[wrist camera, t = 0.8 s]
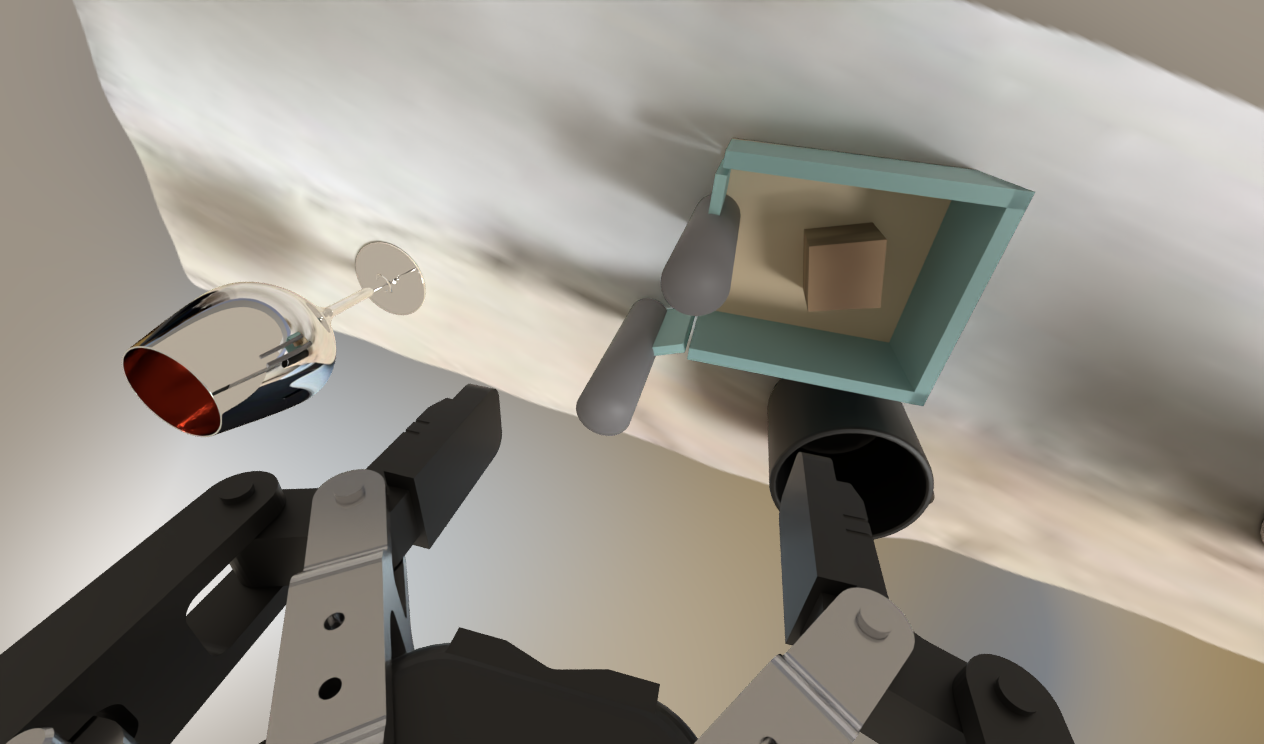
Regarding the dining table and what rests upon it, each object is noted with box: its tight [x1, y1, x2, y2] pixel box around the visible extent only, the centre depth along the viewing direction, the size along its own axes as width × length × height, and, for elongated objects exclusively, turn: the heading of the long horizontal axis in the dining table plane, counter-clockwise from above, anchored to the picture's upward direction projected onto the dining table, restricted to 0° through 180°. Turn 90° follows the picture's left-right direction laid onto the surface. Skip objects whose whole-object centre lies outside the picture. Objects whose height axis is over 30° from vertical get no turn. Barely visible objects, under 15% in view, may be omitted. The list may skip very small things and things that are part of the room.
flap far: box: [576, 298, 695, 436], centre depth 30 cm, size 3×5×13 cm, turn 104°
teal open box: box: [687, 138, 1035, 406], centre depth 29 cm, size 14×12×7 cm
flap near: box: [661, 159, 741, 316], centre depth 25 cm, size 3×5×13 cm, turn 174°
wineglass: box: [122, 242, 426, 437], centre depth 33 cm, size 8×8×18 cm
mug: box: [768, 378, 934, 540], centre depth 33 cm, size 9×12×9 cm
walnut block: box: [803, 222, 887, 312], centre depth 29 cm, size 4×4×4 cm
